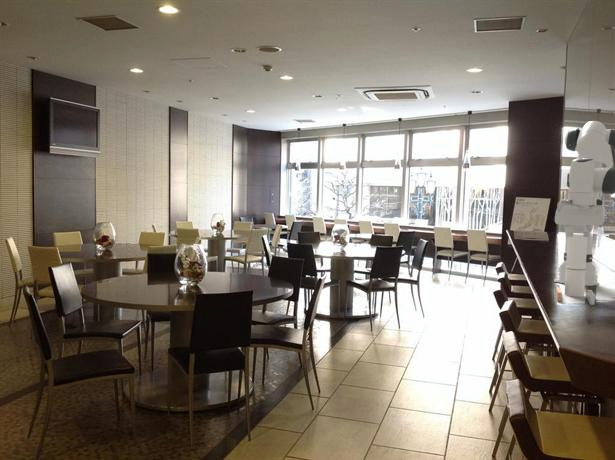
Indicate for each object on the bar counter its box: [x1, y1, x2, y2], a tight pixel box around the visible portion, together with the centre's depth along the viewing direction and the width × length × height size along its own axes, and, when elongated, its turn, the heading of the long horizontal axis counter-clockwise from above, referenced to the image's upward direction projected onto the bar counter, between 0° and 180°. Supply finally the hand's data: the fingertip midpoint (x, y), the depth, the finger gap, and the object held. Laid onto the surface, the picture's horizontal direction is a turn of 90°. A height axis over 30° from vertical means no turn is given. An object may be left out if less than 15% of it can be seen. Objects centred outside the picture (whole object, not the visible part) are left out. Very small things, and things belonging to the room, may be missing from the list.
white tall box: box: [564, 233, 587, 298], centre depth 217 cm, size 7×7×25 cm
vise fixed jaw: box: [586, 289, 596, 306], centre depth 204 cm, size 14×1×4 cm, turn 157°
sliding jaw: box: [554, 284, 563, 302], centre depth 212 cm, size 21×1×3 cm, turn 157°
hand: (578, 236), depth 205 cm, fingers open, 7 cm apart
